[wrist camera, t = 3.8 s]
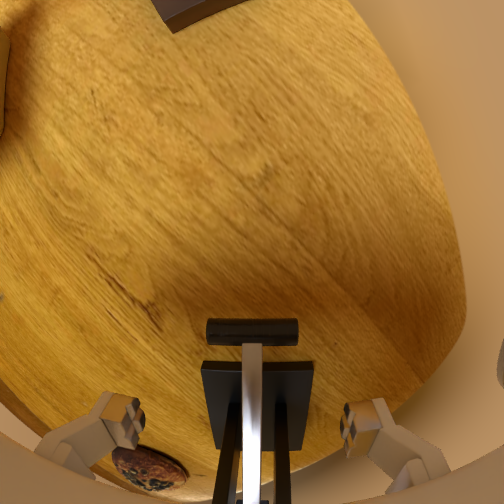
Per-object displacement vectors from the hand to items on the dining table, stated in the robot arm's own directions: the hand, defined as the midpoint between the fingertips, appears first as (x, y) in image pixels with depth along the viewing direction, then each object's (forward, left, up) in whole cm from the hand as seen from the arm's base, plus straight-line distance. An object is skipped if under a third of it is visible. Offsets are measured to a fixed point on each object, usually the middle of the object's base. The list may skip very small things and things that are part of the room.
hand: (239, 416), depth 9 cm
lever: (0, +7, -4) cm, 8 cm away
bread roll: (+15, +27, -12) cm, 33 cm away
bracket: (0, +12, -11) cm, 17 cm away
